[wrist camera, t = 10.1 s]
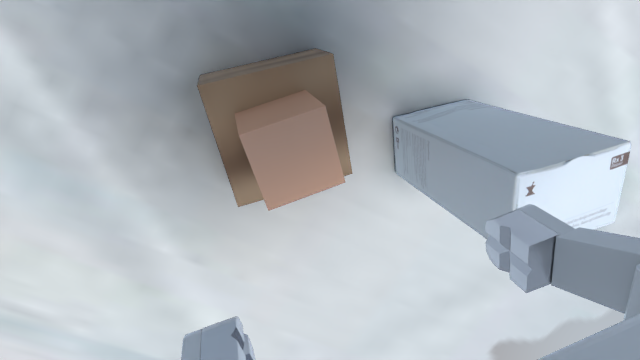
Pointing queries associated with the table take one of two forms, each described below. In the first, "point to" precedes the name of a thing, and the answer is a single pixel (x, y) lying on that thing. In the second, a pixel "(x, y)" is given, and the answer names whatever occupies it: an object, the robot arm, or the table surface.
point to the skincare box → (509, 164)
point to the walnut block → (261, 87)
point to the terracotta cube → (290, 148)
